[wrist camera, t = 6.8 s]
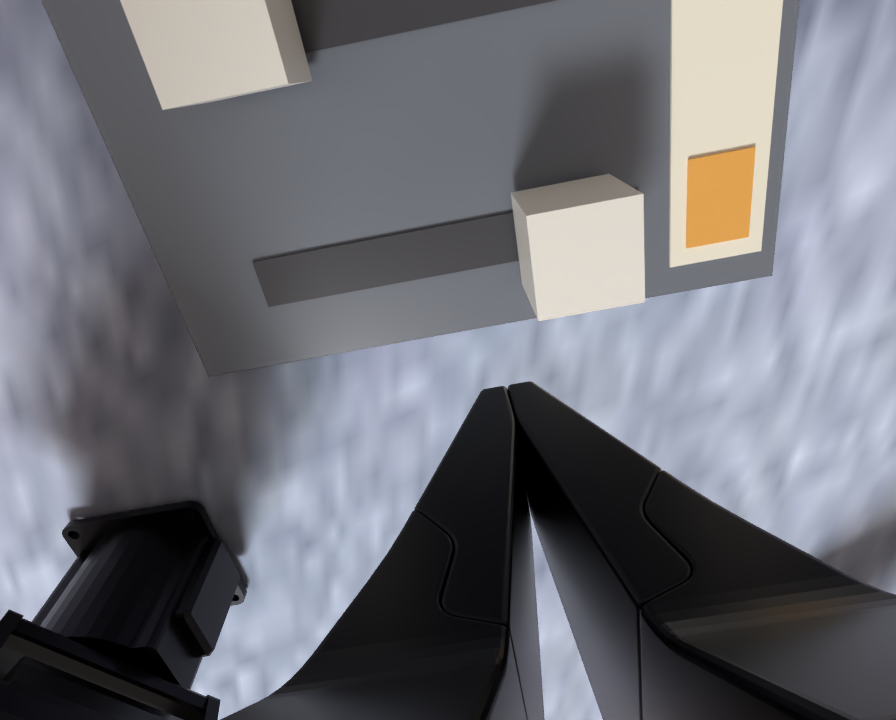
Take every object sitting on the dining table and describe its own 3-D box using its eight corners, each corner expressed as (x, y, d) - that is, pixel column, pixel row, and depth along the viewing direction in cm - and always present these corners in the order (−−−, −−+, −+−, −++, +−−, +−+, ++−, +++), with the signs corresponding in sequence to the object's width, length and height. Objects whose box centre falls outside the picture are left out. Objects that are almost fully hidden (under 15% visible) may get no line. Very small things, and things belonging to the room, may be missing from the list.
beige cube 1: (521, 284, 18) (538, 321, 16) (510, 192, 17) (526, 216, 14) (613, 267, 18) (645, 302, 15) (608, 173, 17) (643, 193, 14)
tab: (208, 102, 15) (162, 109, 13) (162, -26, 14) (101, -48, 11) (312, 80, 15) (288, 83, 13) (277, -52, 14) (242, -79, 11)
